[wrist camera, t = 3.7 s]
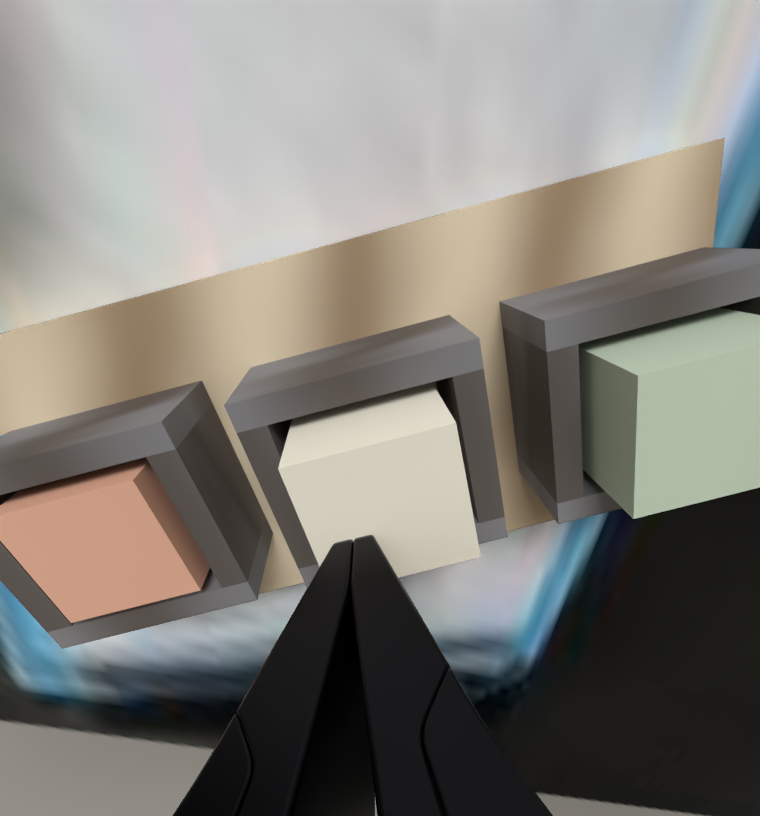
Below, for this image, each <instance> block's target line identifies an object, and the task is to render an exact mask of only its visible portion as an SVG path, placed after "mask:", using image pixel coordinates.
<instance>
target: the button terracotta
mask: <svg viewBox="0 0 760 816" xmlns="http://www.w3.org/2000/svg"><path fill="white" fill-rule="evenodd" d="M0 541H1V542H2V543H3V544H4V545H5V547H6V548H7V549H8V550H9V551H10V552H11V554H12V555H13V556H14V557H15V558H16V559H17V561H18V562H19V563H20V564H21V565H22V567H23V568H24V569H25V570H26V571H27V572H28V574H29V575H30V576H31V577H32V578H33V579H34V581H35V582H36V583H37V584H38V585H39V586H40V588H41V589H42V590H43V591H44V592H45V593H46V595H47V596H48V597H49V598H50V599H51V600H52V602H53V603H54V604H55V605H56V606H57V607H58V609H59V610H60V611H61V612H62V613H63V614H64V616H65V617H66V618H67V619H68V620H69V621H70V623H73V622H77V621H81V620H85V619H89V618H93V617H97V616H101V615H105V614H109V613H113V612H117V611H121V610H125V609H129V608H133V607H137V606H141V605H145V604H149V603H153V602H157V601H161V600H165V599H169V598H172V597H176V596H180V595H184V594H188V593H192V592H196V591H200V590H201V588H202V586H203V584H204V581H205V579H206V576H207V574H208V571H209V569H210V566H209V565H208V563H207V561H206V559H205V558H204V556H203V554H202V553H201V551H200V549H199V547H198V546H197V544H196V542H195V541H194V539H193V537H192V535H191V534H190V532H189V530H188V529H187V527H186V525H185V523H184V522H183V520H182V518H181V517H180V515H179V513H178V511H177V510H176V508H175V506H174V505H173V503H172V501H171V499H170V498H169V496H168V494H167V493H166V491H165V489H164V487H163V486H162V484H161V482H160V481H159V479H158V477H157V475H156V474H155V472H154V470H153V469H152V467H151V465H150V463H149V462H148V460H147V458H146V457H144V458H140V459H136V460H132V461H128V462H125V463H121V464H117V465H113V466H109V467H106V468H102V469H98V470H94V471H90V472H86V473H83V474H79V475H75V476H71V477H67V478H63V479H60V480H56V481H52V482H48V483H44V484H41V485H37V486H33V487H29V488H25V489H21V490H19V491H18V492H17V493H15V494H14V495H13V496H12V497H10V498H9V499H8V500H6V501H5V502H4V503H3V504H1V505H0Z"/></svg>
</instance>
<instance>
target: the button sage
mask: <svg viewBox="0 0 760 816" xmlns="http://www.w3.org/2000/svg"><path fill="white" fill-rule="evenodd" d="M578 346H579V376H580V405H581V435H582V464H583V470H584V471H585V472H586V473H587V474H588V475H589V476H590V477H591V478H592V479H593V480H594V481H595V482H596V483H597V484H598V485H599V486H600V487H601V488H602V489H603V490H604V491H605V492H606V493H607V494H608V495H609V496H611V497H612V498H613V499H614V500H615V501H616V502H617V503H618V504H619V505H620V506H621V507H622V508H623V509H624V510H625V511H626V512H627V513H628V514H629V515H630V516H631V517H632V518H633V519H635V518H639V517H643V516H647V515H651V514H655V513H659V512H663V511H667V510H671V509H675V508H679V507H683V506H687V505H691V504H695V503H699V502H703V501H707V500H711V499H715V498H719V497H723V496H727V495H731V494H735V493H739V492H743V491H747V490H751V489H755V488H759V487H760V315H756V314H751V313H745V312H740V311H735V310H730V309H725V308H719V307H718V308H714V309H710V310H706V311H702V312H699V313H695V314H691V315H687V316H683V317H679V318H676V319H672V320H668V321H664V322H660V323H656V324H653V325H649V326H645V327H641V328H637V329H633V330H630V331H626V332H622V333H618V334H614V335H611V336H607V337H603V338H599V339H595V340H591V341H588V342H584V343H580V344H578Z"/></svg>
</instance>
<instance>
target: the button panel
mask: <svg viewBox="0 0 760 816" xmlns="http://www.w3.org/2000/svg"><path fill="white" fill-rule="evenodd" d="M723 148H724V138H722V139H718V140H715V141H711V142H707V143H703V144H699V145H695V146H691V147H687V148H684V149H680V150H676V151H673V152H669V153H665V154H662V155H658V156H654V157H651V158H647V159H643V160H640V161H636V162H632V163H628V164H625V165H621V166H617V167H614V168H610V169H606V170H603V171H599V172H595V173H592V174H588V175H584V176H581V177H577V178H573V179H570V180H566V181H562V182H558V183H555V184H551V185H547V186H544V187H540V188H536V189H533V190H529V191H525V192H522V193H518V194H514V195H511V196H507V197H503V198H500V199H496V200H492V201H488V202H485V203H481V204H477V205H474V206H470V207H466V208H463V209H459V210H455V211H452V212H448V213H444V214H441V215H437V216H433V217H430V218H426V219H422V220H418V221H415V222H411V223H407V224H404V225H400V226H396V227H393V228H389V229H385V230H382V231H378V232H374V233H371V234H367V235H363V236H359V237H356V238H352V239H348V240H345V241H341V242H337V243H334V244H330V245H326V246H323V247H319V248H315V249H312V250H308V251H304V252H301V253H297V254H293V255H289V256H286V257H282V258H278V259H275V260H271V261H267V262H264V263H260V264H256V265H253V266H249V267H245V268H242V269H238V270H234V271H231V272H227V273H223V274H219V275H216V276H212V277H208V278H205V279H201V280H197V281H194V282H190V283H186V284H183V285H179V286H175V287H172V288H168V289H164V290H161V291H157V292H153V293H149V294H146V295H142V296H138V297H135V298H131V299H127V300H124V301H120V302H116V303H113V304H109V305H105V306H102V307H98V308H94V309H91V310H87V311H83V312H79V313H76V314H72V315H68V316H65V317H61V318H57V319H54V320H50V321H46V322H43V323H39V324H35V325H32V326H28V327H24V328H21V329H17V330H13V331H9V332H6V333H2V334H0V434H1V435H2V436H1V437H0V505H1V504H3V503H4V502H5V501H6V500H8V499H9V498H10V497H12V496H13V495H14V494H15V493H17V492H18V491H19V490H21V489H25V488H29V487H33V486H37V485H41V484H44V483H48V482H52V481H56V480H60V479H63V478H67V477H71V476H75V475H79V474H83V473H86V472H90V471H94V470H98V469H102V468H106V467H109V466H113V465H117V464H121V463H125V462H128V461H132V460H136V459H140V458H144V457H146V458H147V460H148V462H149V463H150V465H151V467H152V469H153V470H154V472H155V474H156V475H157V477H158V479H159V481H160V482H161V484H162V486H163V487H164V489H165V491H166V493H167V494H168V496H169V498H170V499H171V501H172V503H173V505H174V506H175V508H176V510H177V511H178V513H179V515H180V517H181V518H182V520H183V522H184V523H185V525H186V527H187V529H188V530H189V532H190V534H191V535H192V537H193V539H194V541H195V542H196V544H197V546H198V547H199V549H200V551H201V553H202V554H203V556H204V558H205V559H206V561H207V563H208V565H209V566H210V569H209V571H208V574H207V576H206V579H205V581H204V584H203V586H202V588H201V590H200V591H196V592H192V593H188V594H184V595H180V596H176V597H172V598H169V599H165V600H161V601H157V602H153V603H149V604H145V605H141V606H137V607H133V608H129V609H125V610H121V611H117V612H113V613H109V614H105V615H101V616H97V617H93V618H89V619H85V620H81V621H77V622H73V623H70V621H69V620H68V619H67V618H66V617H65V616H64V614H63V613H62V612H61V611H60V610H59V609H58V607H57V606H56V605H55V604H54V603H53V602H52V600H51V599H50V598H49V597H48V596H47V595H46V593H45V592H44V591H43V590H42V589H41V588H40V586H39V585H38V584H37V583H36V582H35V581H34V579H33V578H32V577H31V576H30V575H29V574H28V572H27V571H26V570H25V569H24V568H23V567H22V565H21V564H20V563H19V562H18V561H17V559H16V558H15V557H14V556H13V555H12V554H11V552H10V551H9V550H8V549H7V548H6V547H5V545H4V544H3V543H2V542H1V541H0V581H1V582H2V583H3V584H4V585H5V586H6V587H7V588H8V589H9V590H10V592H11V593H12V594H13V595H14V596H15V597H16V598H17V599H18V600H19V601H20V603H21V604H22V605H23V606H24V607H25V608H26V609H27V610H28V611H29V612H30V614H31V615H32V616H33V617H34V618H35V619H36V620H37V621H38V622H39V624H40V625H41V626H42V627H43V628H44V629H45V630H46V631H47V632H48V633H49V635H50V636H51V637H52V638H53V639H54V640H55V641H56V642H57V643H58V644H59V646H60V647H61V648H62V649H63V648H67V647H71V646H75V645H79V644H83V643H87V642H91V641H95V640H99V639H103V638H107V637H111V636H115V635H119V634H123V633H127V632H131V631H135V630H139V629H143V628H147V627H150V626H154V625H158V624H162V623H166V622H170V621H174V620H178V619H182V618H186V617H190V616H194V615H198V614H202V613H206V612H210V611H214V610H218V609H222V608H226V607H230V606H234V605H238V604H242V603H246V602H250V601H254V600H257V599H258V594H260V593H264V592H268V591H272V590H276V589H280V588H284V587H288V586H292V585H296V584H300V583H304V582H305V585H306V587H309V585H310V583H311V581H312V580H313V578H314V576H315V574H316V573H317V571H318V569H319V565H318V562H317V560H316V557H315V555H314V553H313V550H312V548H311V546H310V543H309V541H308V539H307V536H306V534H305V531H304V529H303V527H302V524H301V522H300V520H299V517H298V515H297V513H296V510H295V508H294V505H293V503H292V501H291V498H290V496H289V494H288V491H287V489H286V487H285V484H284V482H283V479H282V477H281V475H280V472H279V470H278V467H279V464H280V460H281V457H282V453H283V450H284V446H285V443H286V439H287V436H288V432H289V428H290V425H291V421H292V419H293V418H297V417H301V416H304V415H308V414H312V413H316V412H320V411H324V410H327V409H331V408H335V407H339V406H343V405H347V404H350V403H354V402H358V401H362V400H366V399H370V398H373V397H377V396H381V395H385V394H389V393H392V392H396V391H400V390H404V389H408V388H412V387H415V386H419V385H423V384H427V383H431V382H432V383H433V385H434V387H435V388H436V390H437V392H438V393H439V395H440V397H441V398H442V400H443V402H444V403H445V405H446V407H447V408H448V410H449V412H450V413H451V415H452V417H453V418H454V420H455V422H456V425H457V430H458V436H459V441H460V446H461V452H462V457H463V463H464V468H465V474H466V479H467V484H468V490H469V495H470V501H471V506H472V511H473V517H474V522H475V528H476V533H477V539H478V544H481V543H485V542H489V541H493V540H497V539H501V538H505V537H508V536H507V531H511V530H515V529H519V528H523V527H527V526H531V525H535V524H539V523H543V522H547V521H551V520H556V521H557V523H558V524H561V523H565V522H569V521H573V520H577V519H581V518H585V517H589V516H593V515H597V514H601V513H605V512H609V511H613V510H617V509H621V508H622V507H621V506H620V505H619V504H618V503H617V502H616V501H615V500H614V499H613V498H612V497H611V496H609V495H608V494H607V493H606V492H605V491H604V490H603V489H602V488H601V487H600V486H599V485H598V484H597V483H596V482H595V481H594V480H593V479H592V478H591V477H590V476H589V475H588V474H587V473H586V472H585V471H584V470H583V464H582V435H581V405H580V376H579V346H578V344H580V343H584V342H588V341H591V340H595V339H599V338H603V337H607V336H611V335H614V334H618V333H622V332H626V331H630V330H633V329H637V328H641V327H645V326H649V325H653V324H656V323H660V322H664V321H668V320H672V319H676V318H679V317H683V316H687V315H691V314H695V313H699V312H702V311H706V310H710V309H714V308H718V307H719V308H725V309H730V310H735V311H740V312H745V313H751V314H756V315H760V249H741V248H713V244H714V234H715V225H716V215H717V206H718V196H719V186H720V177H721V167H722V157H723Z"/></svg>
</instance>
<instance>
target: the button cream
mask: <svg viewBox="0 0 760 816" xmlns="http://www.w3.org/2000/svg"><path fill="white" fill-rule="evenodd" d="M278 470H279V472H280V475H281V477H282V479H283V482H284V484H285V487H286V489H287V491H288V494H289V496H290V498H291V501H292V503H293V505H294V508H295V510H296V513H297V515H298V517H299V520H300V522H301V524H302V527H303V529H304V531H305V534H306V536H307V539H308V541H309V543H310V546H311V548H312V550H313V553H314V555H315V557H316V560H317V562H318V565H319V567H320V566H321V564H322V562H323V561H324V559H325V557H326V555H327V554H328V552H329V550H330V548H331V547H332V545H333V544H334V543H336V542H340V541H345V540H349V539H351V540H353V541H354V540H355V538H358V537H362V536H366V535H373V536H374V537H375V539H376V540H377V542H378V544H379V546H380V547H381V549H382V551H383V552H384V554H385V556H386V558H387V559H388V561H389V563H390V564H391V566H392V568H393V570H394V571H395V573H396V575H397V576H398V578H399V577H403V576H407V575H411V574H415V573H419V572H423V571H427V570H431V569H435V568H439V567H443V566H447V565H451V564H455V563H459V562H463V561H467V560H471V559H475V558H479V557H481V555H480V549H479V544H478V539H477V533H476V528H475V522H474V517H473V511H472V506H471V501H470V495H469V490H468V484H467V479H466V474H465V468H464V463H463V457H462V452H461V446H460V441H459V436H458V430H457V425H456V422H455V420H454V418H453V417H452V415H451V413H450V412H449V410H448V408H447V407H446V405H445V403H444V402H443V400H442V398H441V397H440V395H439V393H438V392H437V390H436V388H435V387H434V385H433V383H432V382H431V383H427V384H423V385H419V386H415V387H412V388H408V389H404V390H400V391H396V392H392V393H389V394H385V395H381V396H377V397H373V398H370V399H366V400H362V401H358V402H354V403H350V404H347V405H343V406H339V407H335V408H331V409H327V410H324V411H320V412H316V413H312V414H308V415H304V416H301V417H297V418H293V419H292V421H291V425H290V428H289V432H288V436H287V439H286V443H285V446H284V450H283V453H282V457H281V460H280V464H279V467H278Z"/></svg>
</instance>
